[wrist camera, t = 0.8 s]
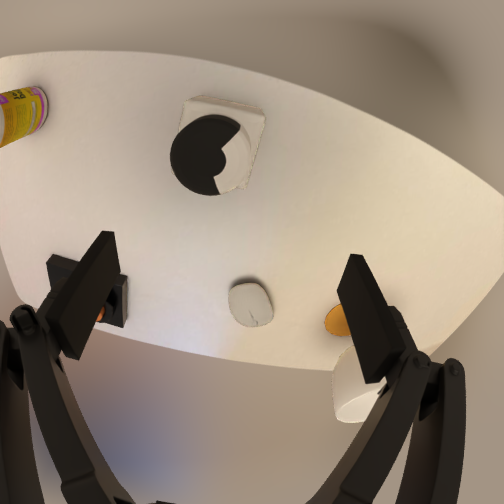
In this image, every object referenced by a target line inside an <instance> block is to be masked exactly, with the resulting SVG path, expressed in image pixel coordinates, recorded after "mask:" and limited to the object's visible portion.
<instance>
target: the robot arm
mask: <svg viewBox="0 0 504 504" xmlns="http://www.w3.org/2000/svg"><path fill="white" fill-rule="evenodd" d="M120 272H121V270H120V265H119V259H118V254H117V248H116V241H115V235H114V232H112V231H102V232H101V233H100V234H99V236H98V237H97V238H96V240H95V241H94V242H93V244H92V245H91V246H90V248H89V249H88V250H87V252H86V253H85V255H84V256H83V257H82V259H81V260H80V262H79V263H78V264H77V266H76V267H75V269H74V270H73V272H72V273H71V275H70V276H69V278H66V277H62V278H61V279H60V280H58V281H57V282H56V283H55V284H54V286H53V287H52V289H51V290H50V292H49V293H48V295H47V298H45V300H44V301H43V303H42V304H41V306H40V307H39V309H38V311H37V312H36V313H35V311H34V309H33V307H32V306H30V305H26V304H25V305H20V306H18V307H17V308H15V310H14V311H12V313H11V315H10V321H11V323H12V325H13V327H14V328H7V327H6V326H5V324H4V322H2V321H1V320H0V504H45V503H44V498H43V494H42V490H41V486H40V482H39V477H38V473H37V468H36V462H35V457H34V450H33V444H32V437H31V427H30V416H29V400H28V390H29V393H30V397H31V401H32V404H33V408H34V411H35V414H36V417H37V420H38V423H39V426H40V429H41V432H42V435H43V437H44V440H45V443H46V445H47V448H48V450H49V453H50V455H51V458H52V460H53V462H54V464H55V467H56V469H57V471H58V473H59V475H60V478H61V480H62V484H61V491H62V493H63V496H64V498H65V500H66V501H67V503H68V504H136V503H135V502H134V501H133V499H132V498H131V496H130V495H129V494H128V492H127V491H126V490H125V489H124V488H123V487H122V486H121V485H120V483H119V482H118V480H117V479H116V477H115V476H114V474H113V472H112V471H111V469H110V467H109V466H108V464H107V462H106V461H105V459H104V457H103V455H102V453H101V452H100V450H99V448H98V446H97V444H96V442H95V440H94V438H93V436H92V434H91V432H90V430H89V428H88V426H87V424H86V422H85V420H84V417H83V415H82V413H81V411H80V408H79V406H78V404H77V401H76V399H75V396H74V394H73V391H72V389H71V386H70V384H69V381H68V378H67V376H66V373H65V371H64V367H63V364H62V361H61V359H60V357H59V354H60V352H61V350H62V351H63V353H64V355H65V356H66V357H68V358H72V359H75V360H79V359H80V357H81V354H82V352H83V350H84V347H85V345H86V343H87V340H88V338H89V336H90V333H91V331H92V329H93V327H94V325H95V322H96V320H97V318H98V316H99V314H100V312H101V309H102V307H103V305H104V303H105V301H106V299H107V297H108V295H109V293H110V291H111V289H112V287H113V285H114V283H115V281H116V279H117V277H118V275H119V273H120ZM337 293H338V296H339V299H340V302H341V305H342V308H343V311H344V314H345V317H346V320H347V324H348V327H349V330H350V333H351V336H352V340H353V343H354V346H355V350H356V353H357V356H358V360H359V363H360V367H361V370H362V374H363V378H364V381H365V384H373V383H379V382H380V381H381V380H382V379H383V377H384V376H385V378H386V381H387V383H386V384H385V385H384V386H383V387H382V388H381V389H380V391H379V392H378V393H377V394H378V395H379V396H378V398H377V400H376V402H375V404H374V406H373V407H372V409H371V411H370V413H369V415H368V416H367V418H366V420H365V422H364V424H363V425H362V427H361V429H360V430H359V432H358V434H357V435H356V437H355V438H354V440H353V442H352V443H351V445H350V447H349V448H348V450H347V451H346V453H345V454H344V456H343V457H342V459H341V460H340V461H339V463H338V465H337V466H336V468H335V469H334V470H333V471H332V473H331V474H330V476H329V477H328V478H327V480H326V481H325V483H324V484H323V485H322V486H321V488H320V489H319V490H318V492H317V493H316V494H315V495H314V496H313V497H312V498H311V499H310V500H309V501H308V502H307V503H306V504H372V502H373V499H374V498H375V496H376V494H377V493H378V491H379V490H380V488H381V486H382V484H383V483H384V481H385V479H386V477H387V476H388V474H389V472H390V470H391V468H392V466H393V464H394V462H395V460H396V458H397V456H398V454H399V452H400V450H401V448H402V446H403V443H404V441H405V439H406V437H407V434H408V432H409V430H410V427H411V425H412V423H413V428H412V434H411V440H410V446H409V450H408V455H407V460H406V465H405V469H404V473H403V477H402V482H401V485H400V489H399V493H398V496H397V500H396V503H395V504H457V499H458V494H459V488H460V482H461V475H462V467H463V458H464V445H465V429H466V390H465V371H464V368H463V366H462V364H461V363H460V362H459V361H458V360H456V359H453V358H449V359H447V360H446V361H445V363H444V364H440V363H435V362H431V360H430V358H429V357H428V355H426V354H425V353H424V352H421V351H418V349H417V347H416V345H415V343H414V340H413V338H412V336H411V334H410V332H409V329H407V325H406V323H405V322H404V319H403V317H402V315H401V313H400V312H399V311H398V310H397V309H396V307H395V306H388V305H387V303H386V301H385V298H384V296H383V294H382V292H381V290H380V288H379V286H378V284H377V282H376V280H375V278H374V276H373V274H372V272H371V270H370V268H369V266H368V265H367V263H366V261H365V259H364V257H363V255H358V254H350V257H349V259H348V262H347V265H346V268H345V270H344V273H343V276H342V278H341V281H340V283H339V286H338V289H337ZM413 420H414V421H413ZM151 504H174V503H167V502H161V501H156V503H151Z"/></svg>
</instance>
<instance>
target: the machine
mask: <svg viewBox="0 0 504 504" xmlns="http://www.w3.org/2000/svg"><path fill="white" fill-rule="evenodd" d="M78 263H79V262H77V261H73V260H70V259H67V258H64V257H61V256H57V255H54V254H53V255H52V256H51V257H50V258H49V259H48V261H47V262H46V265H47V271H48V276H49V281H50V286H51V289H52V287H53V286H54V284H55V283H56V282H57V281H58V280H60V279H61V278H62V277H66V278H69V276H70V275H71V273H72V272H73V270H74V269H75V267H76V266H77V264H78ZM103 307H104V309H105V312H104V314H103V316H102V318H101V320H100V321H96V322H99V323H107V324H111V325H114V326H117V327H121V328H123V327H124V325H125V322H126V320H127V276H124V275H121V274H119V275H118V277H117V279H116V281H115V283H114V285H113V287H112V289H111V291H110V293H109V295H108V297H107V299H106V301H105V303H104V305H103Z"/></svg>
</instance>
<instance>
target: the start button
mask: <svg viewBox="0 0 504 504" xmlns="http://www.w3.org/2000/svg"><path fill="white" fill-rule="evenodd" d="M104 312H105V309H104V307H102V309H101V312H100V314H99V316H98V318H97V320H96V321H100V320H101V318H102V316H103V314H104Z"/></svg>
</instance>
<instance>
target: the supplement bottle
mask: <svg viewBox="0 0 504 504" xmlns="http://www.w3.org/2000/svg"><path fill="white" fill-rule="evenodd" d="M46 115H47V99H46V96H45V94H44V93H43V91H42V90H41V89H39V88H38V87H34V86H32V87H26V88H21V89H16V90H12V91H8V92H5V93H1V94H0V148H1V147H3V146H5V145H7V144H9V143H11V142H14V141H16V140H18V139H20V138H23V137H25V136H27V135H29V134H32V133H34V132H36V131H37V130H38V129H39V128H40V127H41V126H42V124H43V123H44V121H45V118H46Z"/></svg>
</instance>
